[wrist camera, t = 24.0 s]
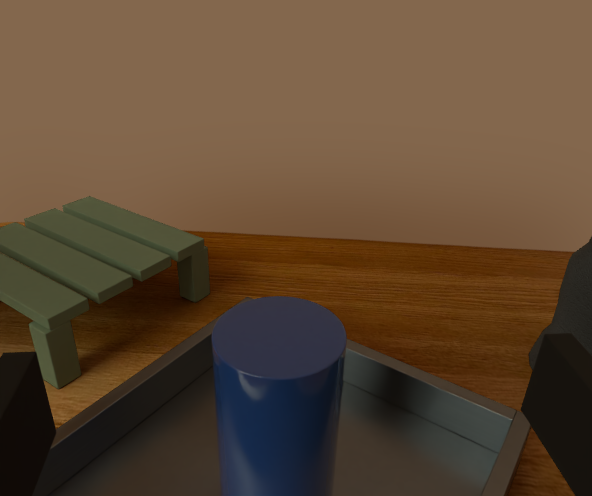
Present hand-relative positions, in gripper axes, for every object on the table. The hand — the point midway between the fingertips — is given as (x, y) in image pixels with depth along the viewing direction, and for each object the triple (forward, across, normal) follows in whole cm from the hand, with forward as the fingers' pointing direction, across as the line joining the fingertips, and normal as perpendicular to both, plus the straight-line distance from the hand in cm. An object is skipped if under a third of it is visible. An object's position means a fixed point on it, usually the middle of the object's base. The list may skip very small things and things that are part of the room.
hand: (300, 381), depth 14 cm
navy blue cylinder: (+10, 0, -17) cm, 19 cm away
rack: (+31, -16, -18) cm, 39 cm away
